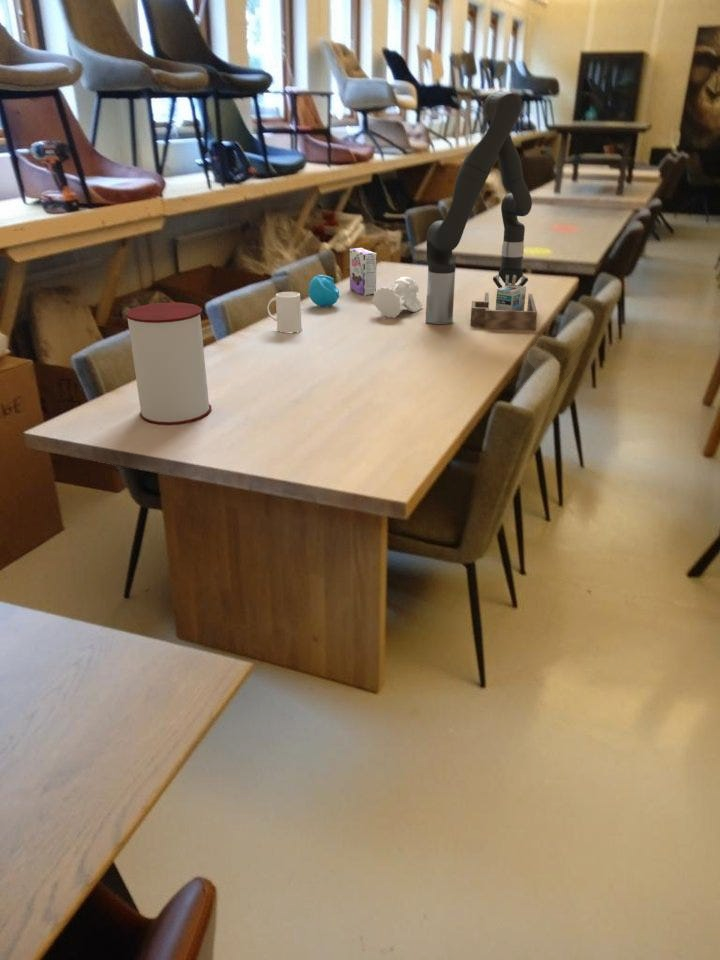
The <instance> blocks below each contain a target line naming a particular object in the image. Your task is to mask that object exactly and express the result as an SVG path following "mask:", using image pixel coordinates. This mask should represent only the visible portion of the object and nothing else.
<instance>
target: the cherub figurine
mask: <svg viewBox="0 0 720 960" xmlns="http://www.w3.org/2000/svg"><path fill="white" fill-rule="evenodd" d="M417 293H419V286H418V283H416V281H415V280H414V279H413V278H411V277H409V276H401V277H398V278H397V280H395V281H394V282H393V284H390V285H389V286H388V287H385V286H382V287H380V288H378V289H376V291H375V292H374V295H373V298H372V300H371V304H372V305H374V306H375V307H376V309H377V310H378V311H379V312H380V314H381V315H384V316H385V317H386V318H393V319H396V318H397V317H398V316H399V315H400V313H401V312H402V311H403V307H404V308H405V309H407V310H408V312H411V313H416V312H419V311H420V310H421V309H422V308H423V303H422V302H421V300H420V299H418V298H417V297H418V296H417Z"/></svg>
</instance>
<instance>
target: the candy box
mask: <svg viewBox="0 0 720 960" xmlns="http://www.w3.org/2000/svg"><path fill="white" fill-rule="evenodd" d="M377 258H378V257H377V252H374V251H370V250H368V249H365V248H363V247H356V248H349V290H350V289H351V291H353V292H354V291H355V293H357V294H358V295H361V296H363V297H367V295H370V296H374V292H375V291H377Z"/></svg>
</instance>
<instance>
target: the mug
mask: <svg viewBox="0 0 720 960" xmlns="http://www.w3.org/2000/svg"><path fill="white" fill-rule="evenodd" d="M268 301H269V302H268V303H267V313H268V316H269V317H270V318H271V319H272V320H273V321H275V322H277V323H276V331H277V330H278V331H280V332H279V333H281V332H297V331H300V332H302V331H303V328H302V309H301V293H300V292H297V291H281V292H277V293H275V296H274V297H272V298H271V299H270V300H268ZM274 301H275V305H276V306H275V307H276V308H275V309H276V317H275V316H273V315H272V313H271V312H270V305H271V304H272V302H274ZM301 330H302V331H301ZM278 331H277V332H278ZM297 333H298V332H297Z"/></svg>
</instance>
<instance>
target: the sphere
mask: <svg viewBox="0 0 720 960" xmlns="http://www.w3.org/2000/svg"><path fill="white" fill-rule="evenodd" d="M334 280H335V279H334V278H333V277H331V276H329V275H325V274H318V275H315V276H314V277H313V278H312V279H311V281H310V282H309V285H308V295H309V299H310V300H311V301H312V303H313V304H315V305H316V306H319V307H323V308H328V307H331V306H333V305H335V304H336V303H337V302H338V300H339V298H340V290H339V288H338V287H337V286H336V284H335V283H334Z"/></svg>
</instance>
